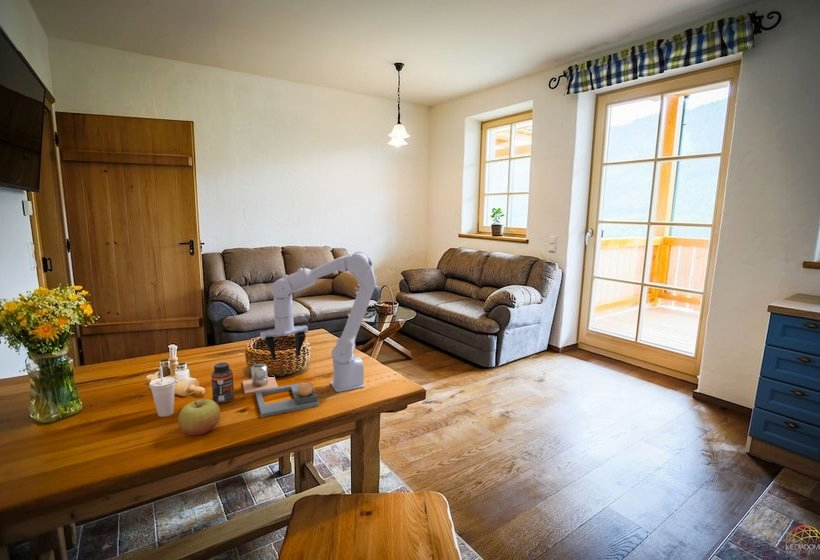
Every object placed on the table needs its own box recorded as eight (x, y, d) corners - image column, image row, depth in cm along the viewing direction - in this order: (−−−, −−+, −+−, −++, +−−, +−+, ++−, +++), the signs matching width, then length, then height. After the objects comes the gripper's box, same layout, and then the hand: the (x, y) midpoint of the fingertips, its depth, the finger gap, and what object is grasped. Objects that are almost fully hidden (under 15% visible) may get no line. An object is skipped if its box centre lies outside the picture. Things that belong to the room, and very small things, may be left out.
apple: (179, 426, 108) (176, 398, 107) (219, 417, 113) (217, 390, 111) (179, 444, 100) (176, 414, 98) (223, 434, 104) (220, 405, 103)
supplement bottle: (226, 405, 119) (223, 369, 117) (208, 403, 121) (205, 367, 119) (238, 396, 125) (236, 361, 123) (221, 394, 126) (218, 360, 124)
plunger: (311, 392, 124) (310, 381, 124) (314, 398, 121) (314, 387, 120) (296, 395, 122) (296, 384, 122) (299, 401, 119) (299, 390, 118)
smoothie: (151, 421, 110) (145, 372, 108) (153, 411, 116) (148, 364, 114) (178, 416, 113) (173, 368, 111) (179, 406, 119) (174, 360, 116)
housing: (307, 384, 134) (306, 377, 133) (318, 405, 120) (318, 397, 119) (255, 394, 127) (255, 386, 126) (261, 417, 113) (261, 408, 112)
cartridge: (269, 380, 135) (268, 362, 134) (265, 387, 130) (263, 367, 129) (255, 381, 135) (254, 362, 134) (250, 387, 130) (248, 367, 129)
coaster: (273, 377, 140) (273, 375, 139) (278, 388, 131) (278, 387, 131) (242, 382, 135) (242, 380, 135) (245, 394, 126) (244, 392, 126)
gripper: (262, 322, 122) (265, 365, 124) (310, 316, 129) (311, 356, 131) (258, 316, 128) (260, 358, 130) (303, 311, 135) (305, 350, 137)
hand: (285, 357), depth 131 cm, fingers open, 7 cm apart
